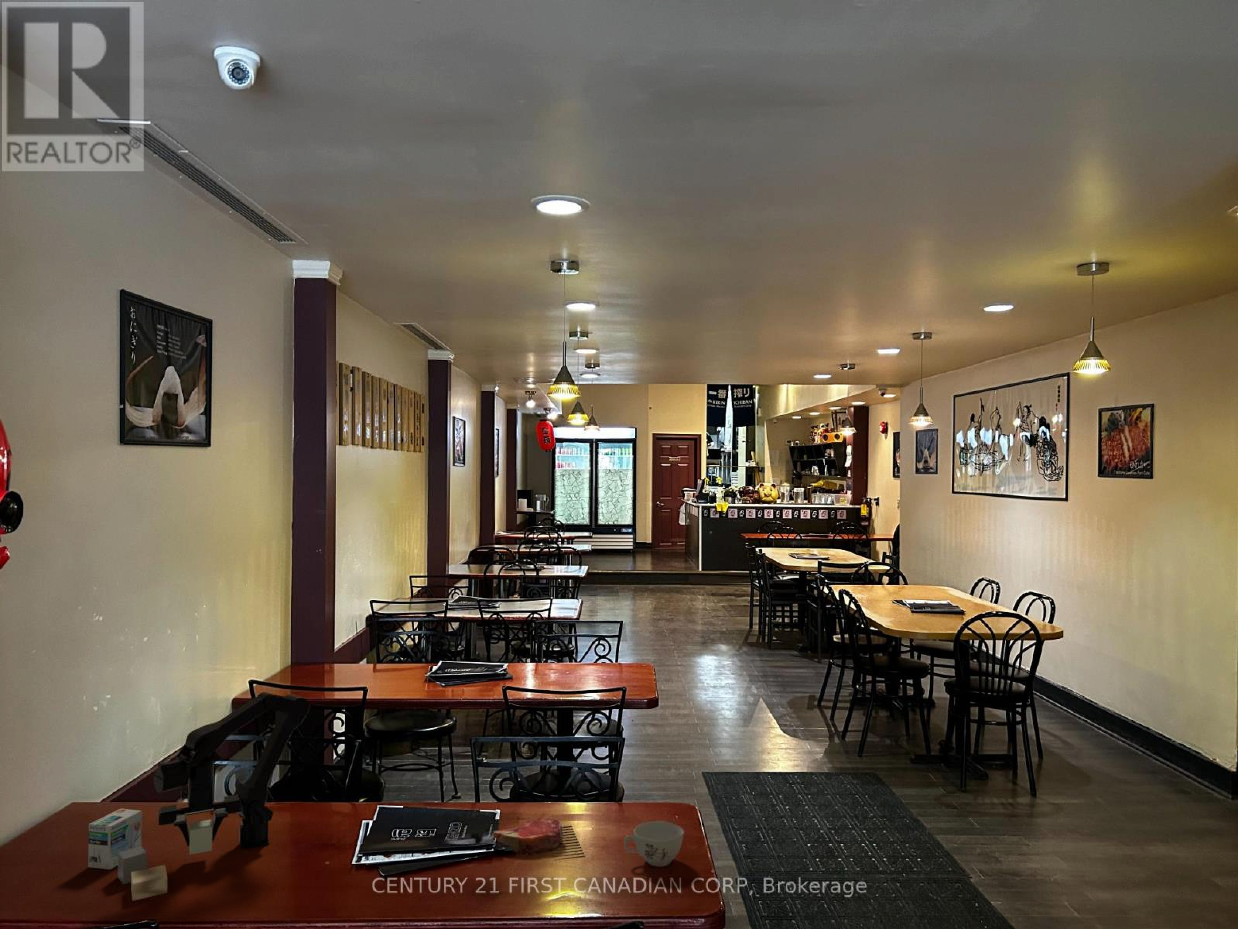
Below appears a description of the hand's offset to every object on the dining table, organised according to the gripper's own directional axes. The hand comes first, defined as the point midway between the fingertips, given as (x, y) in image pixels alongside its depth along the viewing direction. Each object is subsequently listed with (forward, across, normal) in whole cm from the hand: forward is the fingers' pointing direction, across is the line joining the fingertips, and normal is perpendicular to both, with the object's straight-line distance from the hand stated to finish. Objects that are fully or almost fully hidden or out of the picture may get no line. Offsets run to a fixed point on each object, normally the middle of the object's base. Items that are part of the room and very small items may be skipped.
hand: (200, 843), depth 214 cm
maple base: (+5, +11, +11) cm, 17 cm away
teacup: (+4, -100, +55) cm, 114 cm away
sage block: (+1, 0, 0) cm, 1 cm away
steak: (+5, -77, +32) cm, 83 cm away
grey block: (+4, +15, +2) cm, 16 cm away
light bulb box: (+5, +19, -11) cm, 22 cm away
